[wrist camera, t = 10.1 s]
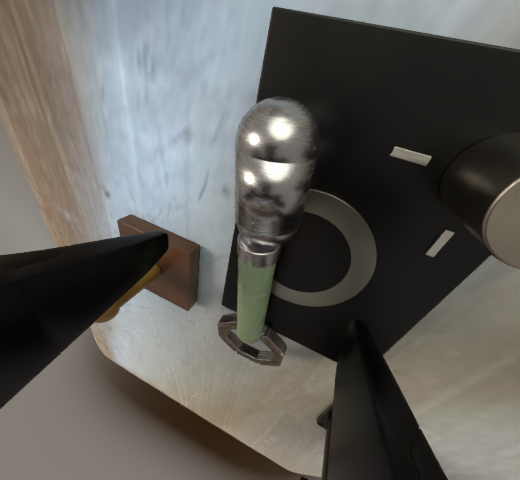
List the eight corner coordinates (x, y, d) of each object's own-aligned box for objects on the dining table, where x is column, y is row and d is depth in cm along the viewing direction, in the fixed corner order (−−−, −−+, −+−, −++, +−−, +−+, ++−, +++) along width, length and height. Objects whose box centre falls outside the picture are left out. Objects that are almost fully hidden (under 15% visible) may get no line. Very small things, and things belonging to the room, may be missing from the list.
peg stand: (196, 301, 24) (138, 369, 17) (139, 272, 25) (66, 324, 19) (200, 245, 19) (123, 308, 13) (130, 214, 21) (31, 257, 15)
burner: (338, 322, 14) (337, 325, 14) (232, 274, 16) (231, 275, 16) (410, 221, 10) (411, 223, 10) (253, 167, 11) (251, 167, 11)
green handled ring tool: (284, 349, 22) (272, 386, 19) (231, 323, 23) (213, 355, 21) (381, 105, 8) (381, 127, 5) (226, 81, 9) (168, 88, 7)
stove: (382, 355, 18) (385, 389, 15) (234, 286, 20) (220, 306, 18) (666, 92, 7) (795, 82, 5) (290, 21, 10) (272, -5, 8)
